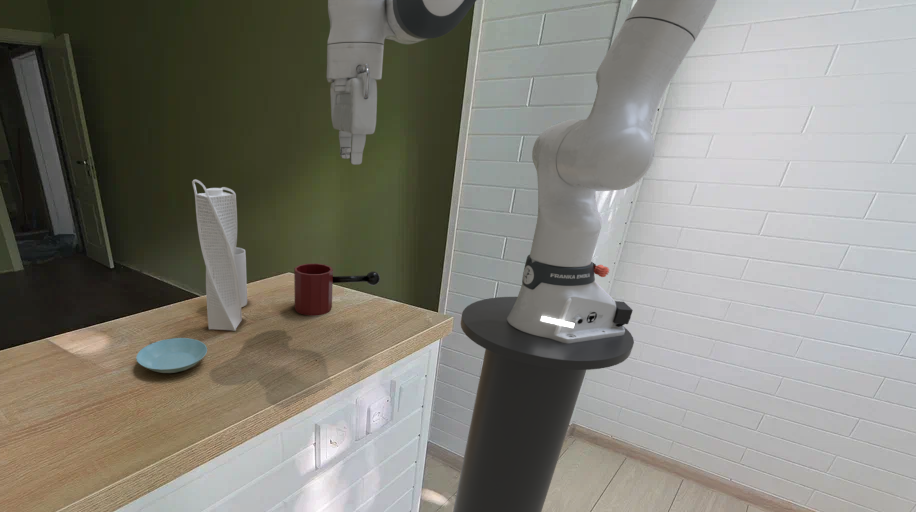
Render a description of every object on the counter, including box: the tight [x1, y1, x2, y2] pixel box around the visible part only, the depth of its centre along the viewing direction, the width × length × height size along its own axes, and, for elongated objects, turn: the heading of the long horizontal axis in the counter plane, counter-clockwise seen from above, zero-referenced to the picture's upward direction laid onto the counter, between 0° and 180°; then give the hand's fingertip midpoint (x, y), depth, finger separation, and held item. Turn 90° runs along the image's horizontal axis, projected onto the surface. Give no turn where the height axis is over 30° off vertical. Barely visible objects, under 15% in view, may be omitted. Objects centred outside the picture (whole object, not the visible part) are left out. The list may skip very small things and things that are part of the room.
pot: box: [293, 263, 381, 317], centre depth 104 cm, size 18×8×9 cm, turn 96°
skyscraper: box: [191, 178, 243, 332], centre depth 91 cm, size 8×8×28 cm
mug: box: [234, 246, 248, 308], centre depth 104 cm, size 10×7×12 cm, turn 169°
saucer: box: [135, 337, 208, 374], centre depth 83 cm, size 12×12×2 cm
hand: (350, 161), depth 83 cm, fingers open, 8 cm apart
